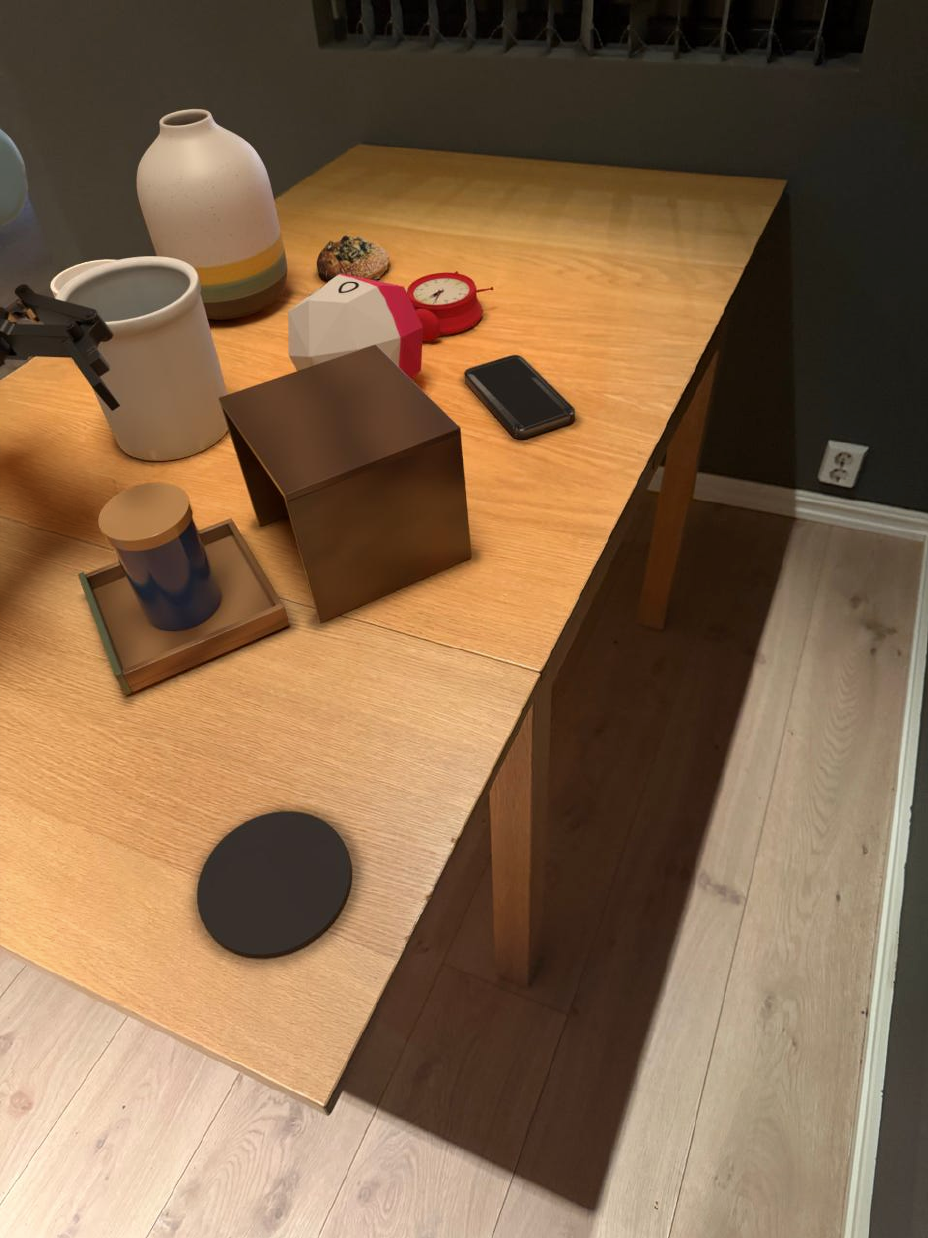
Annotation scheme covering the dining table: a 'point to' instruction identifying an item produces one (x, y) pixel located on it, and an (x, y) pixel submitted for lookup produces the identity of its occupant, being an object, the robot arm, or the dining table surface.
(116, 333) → the utensil holder
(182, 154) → the vase
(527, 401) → the phone
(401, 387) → the cabinet
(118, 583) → the drawer
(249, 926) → the coaster
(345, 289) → the decorative object
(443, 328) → the alarm clock
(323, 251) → the bread roll
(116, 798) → the dining table surface
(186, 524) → the jar
